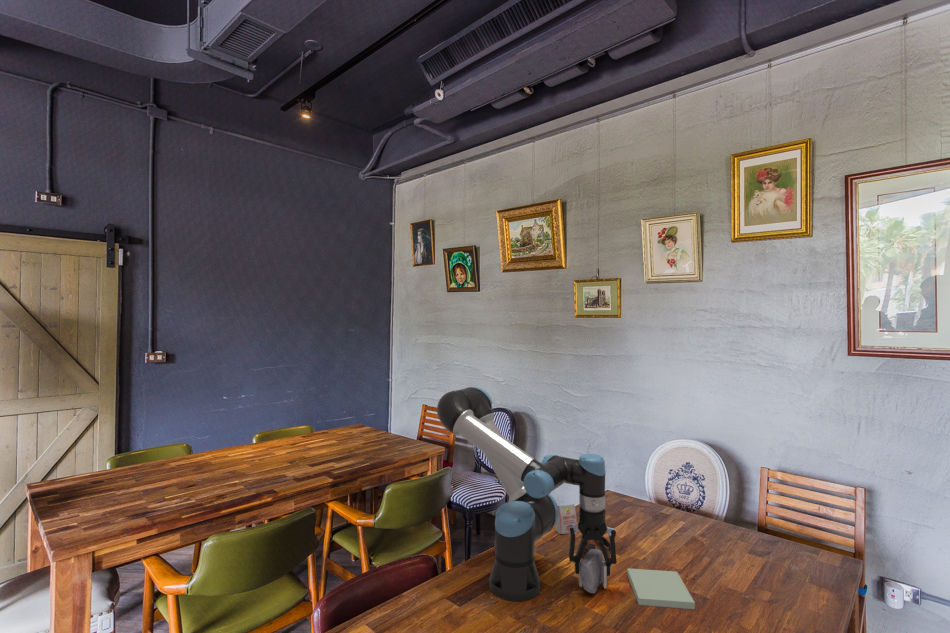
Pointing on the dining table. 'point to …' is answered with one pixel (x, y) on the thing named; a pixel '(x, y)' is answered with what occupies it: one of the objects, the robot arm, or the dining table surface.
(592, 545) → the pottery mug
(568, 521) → the white food box
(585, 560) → the stone block
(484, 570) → the dining table surface
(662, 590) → the base
